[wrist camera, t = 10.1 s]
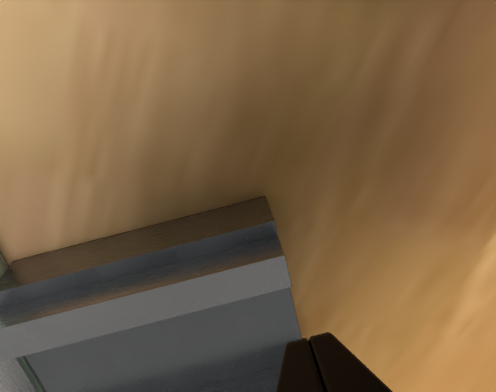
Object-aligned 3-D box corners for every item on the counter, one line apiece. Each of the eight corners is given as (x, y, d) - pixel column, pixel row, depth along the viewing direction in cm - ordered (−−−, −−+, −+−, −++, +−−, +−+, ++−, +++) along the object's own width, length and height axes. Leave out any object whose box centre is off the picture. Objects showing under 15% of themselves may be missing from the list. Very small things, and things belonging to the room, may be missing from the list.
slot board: (265, 196, 19) (280, 238, 16) (302, 354, 23) (321, 417, 20) (12, 261, 19) (-32, 319, 16) (94, 408, 23) (74, 481, 20)
